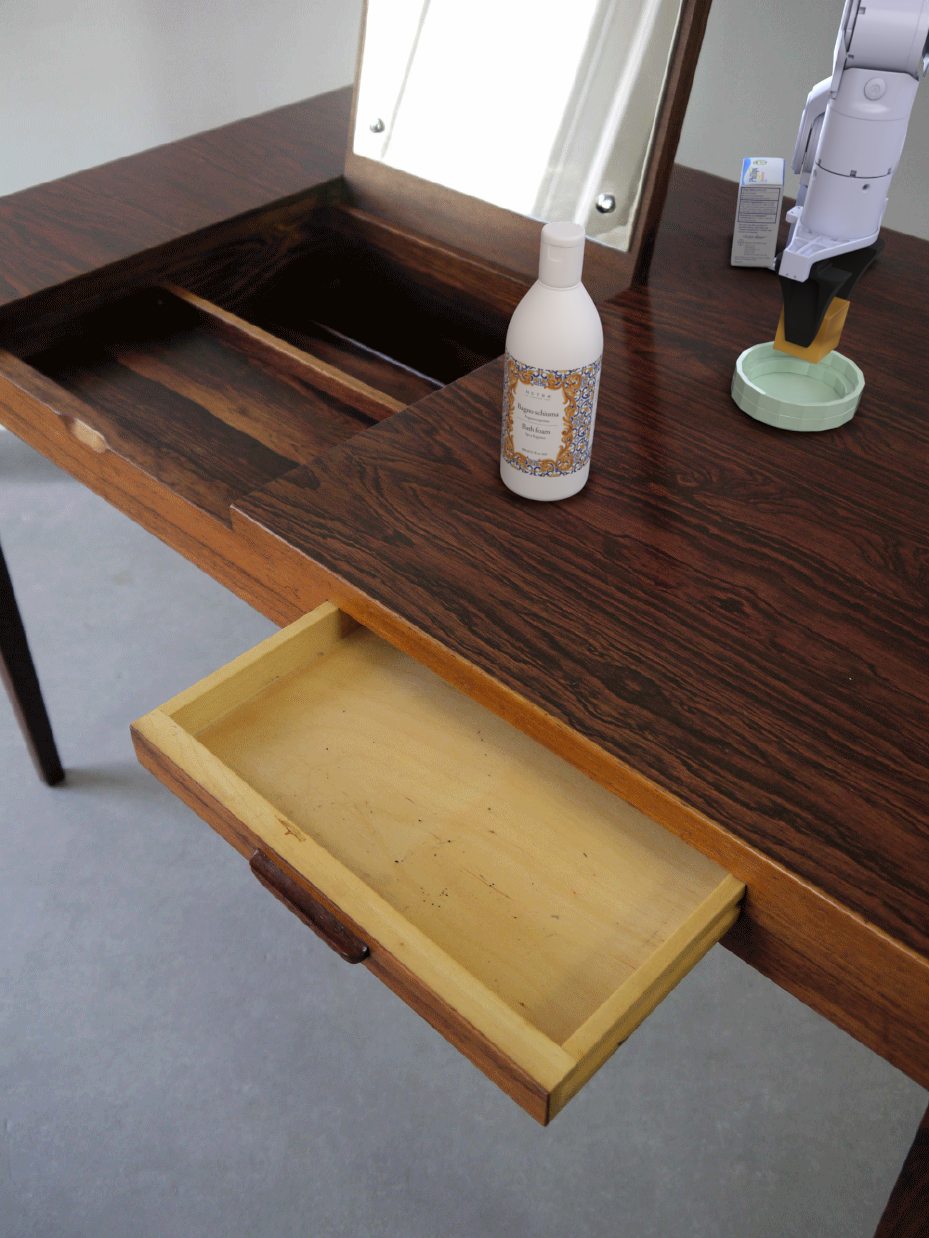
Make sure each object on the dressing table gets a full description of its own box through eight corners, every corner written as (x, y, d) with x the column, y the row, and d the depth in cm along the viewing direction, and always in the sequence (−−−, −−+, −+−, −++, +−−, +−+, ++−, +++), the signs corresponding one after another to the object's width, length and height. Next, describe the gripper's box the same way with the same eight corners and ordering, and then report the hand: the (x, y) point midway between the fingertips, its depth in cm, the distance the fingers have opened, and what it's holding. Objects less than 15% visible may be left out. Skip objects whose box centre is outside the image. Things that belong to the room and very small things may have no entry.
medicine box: (772, 269, 110) (785, 185, 104) (729, 267, 111) (739, 183, 105) (774, 238, 116) (786, 157, 110) (732, 236, 117) (742, 155, 111)
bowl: (764, 358, 97) (771, 328, 95) (875, 398, 92) (885, 368, 90) (707, 405, 91) (713, 375, 89) (822, 451, 86) (832, 420, 84)
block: (793, 330, 90) (805, 286, 87) (837, 345, 88) (850, 301, 86) (772, 348, 88) (782, 303, 85) (816, 364, 86) (829, 319, 83)
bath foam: (486, 492, 82) (495, 241, 68) (516, 445, 86) (530, 201, 73) (572, 513, 80) (599, 259, 66) (598, 464, 85) (628, 218, 71)
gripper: (844, 126, 84) (804, 287, 93) (758, 178, 75) (724, 349, 85) (931, 147, 81) (880, 311, 90) (851, 204, 72) (805, 379, 82)
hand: (810, 332), depth 87 cm, fingers closed on block, 4 cm apart
